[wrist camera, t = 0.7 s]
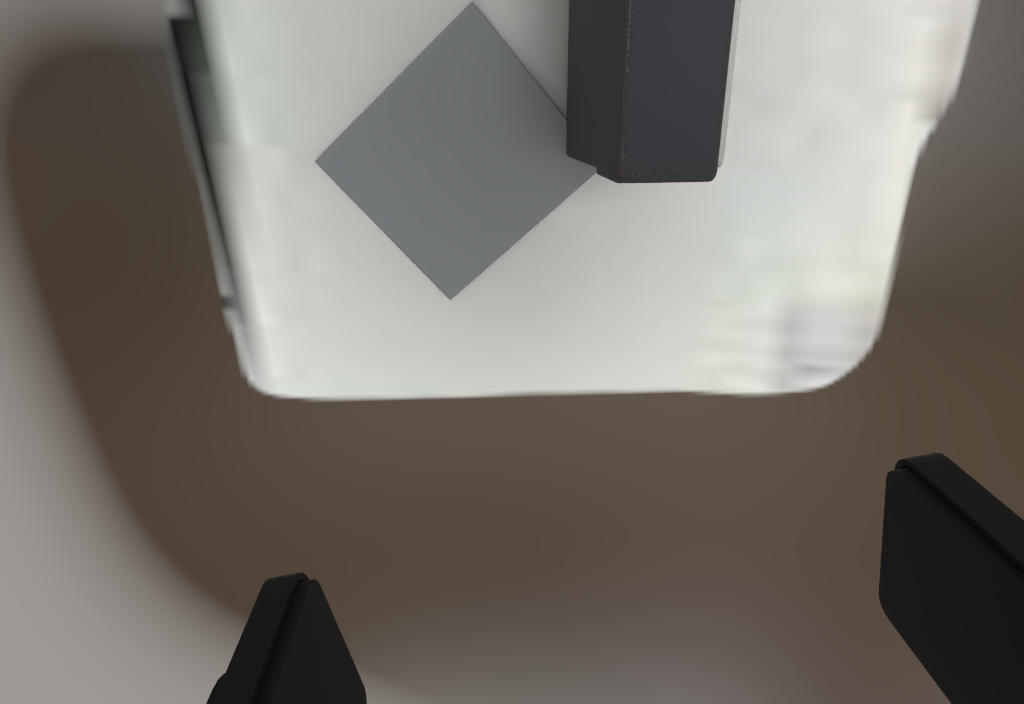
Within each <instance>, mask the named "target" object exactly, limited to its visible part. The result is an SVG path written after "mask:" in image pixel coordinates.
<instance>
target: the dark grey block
mask: <svg viewBox="0 0 1024 704" xmlns="http://www.w3.org/2000/svg"><path fill="white" fill-rule="evenodd" d="M740 3H741V0H569V43H568V89H567V135H566V152H567V155H568V156H569V157H571V158H573V159H576V160H578V161H581V162H583V163H586V164H588V165H591V166H593V167H596V168H597V174H598V175H601V176H603V177H605V178H607V179H609V180H612V181H614V182H616V183H663V182H708V181H712V180H713V179H714V178H715V176H716V173H717V168H718V167H720V166H721V165H722V163H723V158H724V151H725V142H726V133H727V123H728V114H729V105H730V95H731V86H732V77H733V68H734V58H735V49H736V40H737V31H738V21H739V12H740Z"/></svg>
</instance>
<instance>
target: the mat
mask: <svg viewBox="0 0 1024 704" xmlns="http://www.w3.org/2000/svg"><path fill="white" fill-rule="evenodd" d="M566 135H567V121H566V119H565V118H564V117H563V115H562V114H561V113H560V112H559V110H558V109H557V108H556V107H555V105H554V104H553V103H552V101H551V100H550V99H549V98H548V96H547V95H546V94H545V93H544V91H543V90H542V89H541V88H540V86H539V85H538V84H537V82H536V81H535V80H534V79H533V77H532V76H531V75H530V74H529V72H528V71H527V70H526V69H525V67H524V66H523V65H522V63H521V62H520V61H519V60H518V58H517V57H516V56H515V55H514V53H513V52H512V51H511V50H510V48H509V47H508V46H507V44H506V43H505V42H504V41H503V39H502V38H501V37H500V36H499V34H498V33H497V32H496V30H495V29H494V28H493V27H492V25H491V24H490V23H489V22H488V20H487V19H486V18H485V17H484V15H483V14H482V13H481V11H480V10H479V9H478V8H477V6H476V5H475V4H474V3H473V1H472V2H471V4H470V5H469V6H468V7H467V8H466V9H465V10H464V11H463V12H462V13H461V14H460V15H459V16H458V17H457V18H456V19H455V20H454V21H453V22H452V23H451V24H450V25H449V26H448V27H447V28H446V29H445V30H444V31H443V32H442V33H441V34H440V35H439V36H438V37H437V38H436V39H435V40H434V41H433V42H432V43H431V44H430V45H429V46H428V47H427V48H426V49H425V50H424V51H423V52H422V53H421V54H420V55H419V56H418V57H417V58H416V59H415V60H414V61H413V62H412V63H411V64H410V65H409V66H408V67H407V68H406V69H405V70H404V71H403V72H402V73H401V74H400V75H399V76H398V77H397V78H396V79H395V81H394V82H393V83H392V84H391V85H390V86H389V87H388V88H387V89H386V90H385V91H384V92H383V93H382V94H381V95H380V96H379V97H378V98H377V99H376V100H375V101H374V102H373V103H372V104H371V105H370V106H369V107H368V108H367V109H366V110H365V111H364V112H363V113H362V114H361V115H360V116H359V117H358V118H357V119H356V120H355V121H354V122H353V123H352V124H351V125H350V126H349V127H348V128H347V129H346V130H345V131H344V132H343V133H342V134H341V135H340V136H339V137H338V138H337V139H336V140H335V141H334V142H333V143H332V144H331V145H330V146H329V147H328V148H327V149H326V150H325V151H324V152H323V153H322V154H321V155H320V156H319V158H318V159H317V160H316V161H315V162H316V163H317V164H318V165H319V166H320V167H321V168H322V169H323V170H324V171H325V172H326V173H327V175H328V176H329V177H330V178H331V179H332V180H333V181H334V182H335V183H336V184H337V185H338V186H339V187H340V188H341V189H342V190H343V191H344V192H345V193H346V194H347V195H348V196H349V197H350V198H351V199H352V200H353V201H354V202H355V203H356V204H357V205H358V206H359V207H360V208H361V209H362V210H363V211H364V212H365V213H366V214H367V215H368V216H369V218H370V219H371V220H372V221H373V222H374V223H375V224H376V225H377V226H378V227H379V228H380V229H381V230H382V231H383V232H384V233H385V234H386V235H387V236H388V237H389V238H390V239H391V240H392V241H393V242H394V243H395V244H396V245H397V246H398V247H399V248H400V249H401V250H402V251H403V252H404V253H405V254H406V255H407V256H408V257H409V258H410V260H411V261H412V262H413V263H414V264H415V265H416V266H417V267H418V268H419V269H420V270H421V271H422V272H423V273H424V274H425V275H426V276H427V277H428V278H429V279H430V280H431V281H432V282H433V283H434V284H435V285H436V286H437V287H438V288H439V289H440V290H441V291H442V292H443V293H444V294H445V295H446V296H447V297H448V298H449V299H450V300H451V299H452V298H453V297H454V296H456V295H457V294H458V293H459V292H460V291H461V290H462V289H464V288H465V287H466V286H467V285H468V284H469V283H470V282H472V281H473V280H474V279H475V278H476V277H477V276H478V275H480V274H481V273H482V272H483V271H484V270H485V269H486V268H488V267H489V266H490V265H491V264H492V263H493V262H494V261H496V260H497V259H498V258H499V257H500V256H501V255H502V254H504V253H505V252H506V251H507V250H508V249H509V248H510V247H511V246H513V245H514V244H515V243H516V242H517V241H518V240H519V239H521V238H522V237H523V236H524V235H525V234H526V233H527V232H529V231H530V230H531V229H532V228H533V227H534V226H535V225H537V224H538V223H539V222H540V221H541V220H542V219H543V218H545V217H546V216H547V215H548V214H549V213H550V212H551V211H553V210H554V209H555V208H556V207H557V206H558V205H559V204H560V203H562V202H563V201H564V200H565V199H566V198H567V197H568V196H570V195H571V194H572V193H573V192H574V191H575V190H576V189H578V188H579V187H580V186H581V185H582V184H583V183H584V182H586V181H587V180H588V179H589V178H590V177H591V176H592V175H594V174H595V173H596V172H597V168H596V167H593V166H591V165H588V164H586V163H583V162H581V161H578V160H576V159H573V158H571V157H569V156H568V155H567V152H566Z"/></svg>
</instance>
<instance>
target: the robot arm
mask: <svg viewBox="0 0 1024 704" xmlns="http://www.w3.org/2000/svg"><path fill="white" fill-rule="evenodd" d="M879 598H880V603H881V606H882V608H883V610H884V612H885V614H886V616H887V617H888V619H889V620H890V622H891V623H892V624H893V626H894V627H895V628H896V630H897V631H898V632H899V634H900V635H901V637H902V638H903V639H904V640H905V642H906V643H907V645H908V646H909V647H910V648H911V650H912V651H913V653H914V654H915V655H916V657H917V658H918V659H919V660H920V662H921V663H922V665H923V666H924V667H925V669H926V670H927V671H928V673H929V674H930V675H931V677H932V678H933V679H934V681H935V682H936V683H937V685H938V686H939V688H940V689H941V690H942V692H943V693H944V694H945V696H946V697H947V698H948V699H949V701H950V702H951V704H1024V520H1023V519H1021V518H1020V517H1019V516H1018V515H1016V514H1015V513H1014V512H1013V511H1011V510H1010V509H1009V508H1008V507H1007V506H1006V505H1004V504H1003V503H1002V502H1001V501H999V500H998V499H997V498H996V497H995V496H993V495H992V494H991V493H990V492H988V491H987V490H986V489H985V488H984V487H983V486H981V485H980V484H979V483H978V482H977V481H975V480H974V479H973V478H972V477H971V476H969V475H968V474H967V473H966V472H965V471H963V470H962V469H961V468H960V467H958V466H957V465H956V464H955V463H954V462H952V461H951V460H950V459H949V458H947V457H946V456H944V455H943V454H940V453H932V454H927V455H922V456H916V457H911V458H905V459H901V460H899V461H898V462H897V463H896V466H895V470H893V471H890V472H889V473H888V474H887V478H886V491H885V506H884V521H883V537H882V552H881V568H880V583H879ZM207 704H367V702H366V692H365V688H364V685H363V683H362V680H361V678H360V676H359V673H358V671H357V669H356V666H355V664H354V662H353V659H352V657H351V655H350V653H349V650H348V648H347V646H346V643H345V642H344V639H343V636H342V634H341V632H340V630H339V627H338V625H337V623H336V621H335V618H334V616H333V613H332V611H331V609H330V607H329V604H328V602H327V600H326V597H325V595H324V593H323V590H322V588H321V586H320V584H319V582H318V581H317V580H316V579H314V580H309V579H308V577H307V575H305V574H304V573H296V574H291V575H286V576H280V577H275V578H269V579H267V580H266V581H265V582H264V584H263V586H262V588H261V590H260V593H259V595H258V597H257V600H256V602H255V604H254V607H253V609H252V612H251V614H250V617H249V619H248V621H247V623H246V626H245V628H244V631H243V633H242V635H241V638H240V640H239V643H238V645H237V647H236V650H235V652H234V655H233V657H232V659H231V661H230V664H229V666H228V669H227V671H226V673H225V674H224V675H222V676H221V677H220V678H219V679H218V681H217V683H216V685H215V686H214V688H213V690H212V692H211V694H210V697H209V699H208V701H207Z"/></svg>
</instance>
